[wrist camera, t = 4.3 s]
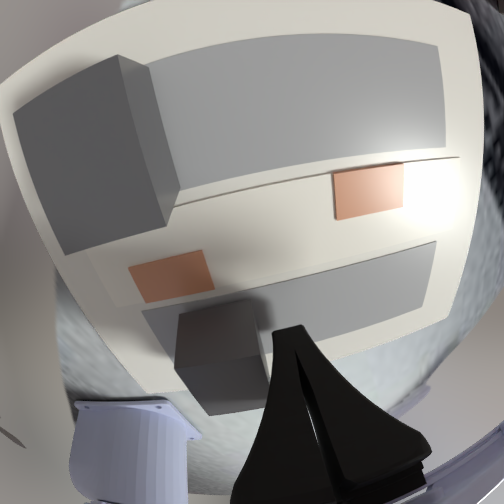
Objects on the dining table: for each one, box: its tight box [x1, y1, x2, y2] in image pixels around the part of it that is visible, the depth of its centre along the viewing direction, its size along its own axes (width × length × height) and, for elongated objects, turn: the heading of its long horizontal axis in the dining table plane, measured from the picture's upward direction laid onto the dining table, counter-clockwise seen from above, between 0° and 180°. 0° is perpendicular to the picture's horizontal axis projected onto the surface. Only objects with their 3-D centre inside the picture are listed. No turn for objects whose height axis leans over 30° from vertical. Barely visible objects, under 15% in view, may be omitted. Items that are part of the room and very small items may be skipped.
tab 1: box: [13, 54, 181, 256], centre depth 6 cm, size 3×4×3 cm
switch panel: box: [0, 0, 484, 394], centre depth 11 cm, size 20×18×2 cm
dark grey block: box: [174, 299, 270, 416], centre depth 11 cm, size 3×4×3 cm
